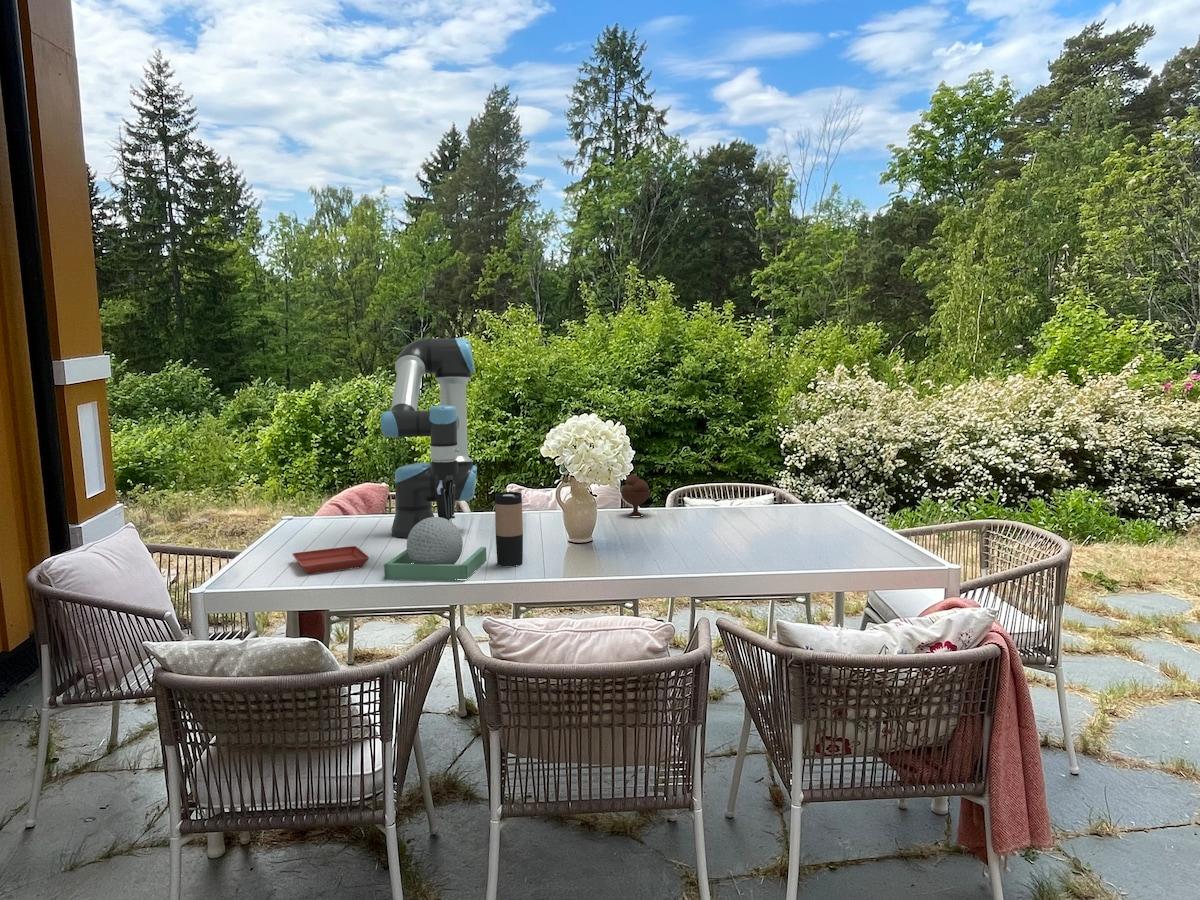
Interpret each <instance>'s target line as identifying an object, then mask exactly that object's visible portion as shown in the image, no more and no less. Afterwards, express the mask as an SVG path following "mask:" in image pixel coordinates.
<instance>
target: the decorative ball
mask: <svg viewBox="0 0 1200 900" xmlns="http://www.w3.org/2000/svg"><path fill="white" fill-rule="evenodd" d="M461 533H462V532H461V531H460V530H459V527H457V525H456V524H454V523H453V521H452V522H451V521H449V520H447V519H444V518H441V517H438V516H434V517H430V518H426V519H424V520H422V521H420V522H418V523H417V524H416V525H415V526H414V527H413V528H412V529H411V531H410V533H409V535H408V538H406V549H407V552H408V555H409V557H410V559H411V561H412V562H413V563H412V564H456V563H457V562H458V561H459V559H460V557H461V555H462V551H463V546H464V545H463V541H464V540H463V536H462V534H461Z"/></svg>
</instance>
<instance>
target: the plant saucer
mask: <svg viewBox="0 0 1200 900" xmlns="http://www.w3.org/2000/svg"><path fill="white" fill-rule="evenodd" d="M291 555H292V556H293V557H294V560H296V561H297V562H298V564H299V565H300V566H301V567H302V569H303V571H305V572H306V573H307V574H308V575H311V574H314V575H315V574H319V573H328V572H335V570H336V571H342V570H343V569H344V570H350V568H352V569H358V567H359V568H362V567H364V565H365V564H366V563H367V562H368V560H369V559H370V557H369V555H368V554H366V553H365V552H364V551H362V550H361V549H360V548H359V547H358V546H357V545H350V546H343V547H335V548H333V547H331V548H327V549H326V548H325V549H324V548H323V549H317V550H309V551H308V550H307V551H301V552H294V553H292V554H291ZM344 570H343V571H344Z"/></svg>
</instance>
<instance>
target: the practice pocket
mask: <svg viewBox="0 0 1200 900" xmlns="http://www.w3.org/2000/svg"><path fill="white" fill-rule="evenodd" d="M485 561H486V562H487V547H486V546H480V547H479V548H478V549H477V550H476V551H475V552H474V553H473V554H472V555H471V556H469V557H468V558H467V559H466V560H465V561H463V562H462V563H461V564H458V563H457V564H456V563H455V564H414V563H412V561H411V559H410V557H409V555H408V552H407V548H406V549H405V550H403V551H402V552H400V553H399V554H397V555H396V556H394V557H393V558H392V559H390V560H389V561H387V562H386V563H384V564H383V572H384V580H394V579H412V580H411V581H440V580H455V579H456V580H457V579H467V578H468V577H469V576H470V575H471V574H472V573H473V572H474V571H475V570H477V568H479V567H480V566H481V565H482V564H483V563H484V562H485ZM486 562H485V563H486ZM411 563H412V564H411ZM485 563H484V564H485ZM484 564H483V565H484ZM483 565H482V566H483ZM482 566H481V567H482ZM481 567H480V568H481ZM480 568H479V569H480ZM477 571H478V570H477ZM474 573H475V572H474ZM474 573H473V574H474ZM473 574H472V575H473ZM472 575H471V576H472ZM471 576H470V577H471ZM470 577H469V578H470ZM469 578H468V579H469ZM468 579H467V580H468Z"/></svg>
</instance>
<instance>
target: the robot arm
mask: <svg viewBox="0 0 1200 900" xmlns="http://www.w3.org/2000/svg"><path fill="white" fill-rule="evenodd" d="M396 357H397V358H396V360H395V366H394V370H395V373H396V379H395V384H394V389H393V395H392V401H391V405H390V406H391V407H390V410H387V411H383V412H382V413H381V415H380V430H381V433H382V435H383V436H384V437H385V438H386V437H388V438H408V437H409V438H410V437H430V459H431V460H432V461H431V462H428V461H427V462H426V461H424V462H417V463H410V464H405V465H402V466H400V467H398V468H397V469H396V470H395V473H394V485H395V486H394V488H395V489H394V490H395V507H396V508H395V515H394V519H393V523H392V526H391V536H392V535H393V537H395V538H400V537H403V538H404V539H408V535H409V533H410V531H411V529H412V528H413V527H414V526H415V525H416V524H417V523H418V522H420V521H422V520H424V519H426V518H430V517H435V514H434V512H433V504H432V503H435V502H436V511H437V517H441V518H444V519H447V520H449V521H451V522H452V523H453V519H455V518H456V516H455V504H456V503H455V502H464V501H466V502H467V501H471V500H472V499H473V498H474V497H475V493H476V492H475V491H476V490H475V489H476V485H477V472H478V471H477V470H478V466H477V465H473V463H474V462H473V459H471V457H469V454H468V453H469V451H468V450H469V449H468V416H467V415H468V413H467V412H468V409H467V408H468V407H467V406H468V405H467V383H469V381H470V380H471V374H474V373H475V372H476V371H475V364H474V357H473V351H472V345H471V342H470V340H469V339H467V338H463V337H462V338H459V337H443V338H442V337H441V338H439V337H438V338H437V337H433V338H429V337H427V338H419V339H417V340H414V341H412V342H411V343H408V344H407V345H406V346H405V347H404V348H403V349H401V351H400V353H399V354H398V355H397V356H396ZM425 374H426V375H427V374H428V375H429V374H430V375H432V374H433V375H434V379H435V380H436V382H438V384H439V397H440V398H439V400H440V402H439V404H440V405H433V406H431V407H430V408H429V410H418V405H419V397H420V390H421V381H422V378H423V376H424V375H425ZM403 538H402V539H403Z"/></svg>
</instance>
